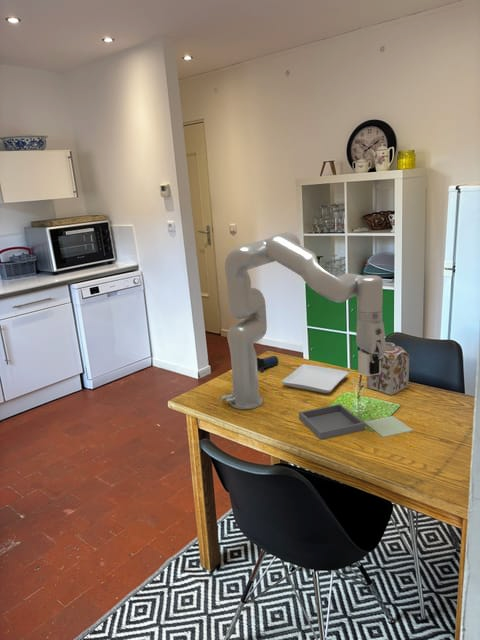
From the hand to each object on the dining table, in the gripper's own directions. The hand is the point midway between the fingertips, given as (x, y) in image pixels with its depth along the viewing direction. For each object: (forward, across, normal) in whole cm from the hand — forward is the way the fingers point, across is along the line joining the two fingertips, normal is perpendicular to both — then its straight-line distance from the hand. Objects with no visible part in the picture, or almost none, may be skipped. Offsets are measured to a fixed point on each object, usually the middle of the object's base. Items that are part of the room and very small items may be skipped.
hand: (369, 370), depth 156 cm
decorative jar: (+20, +25, -24) cm, 40 cm away
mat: (+20, -3, -5) cm, 21 cm away
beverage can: (+20, +66, +11) cm, 70 cm away
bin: (+20, +6, +11) cm, 23 cm away
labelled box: (+1, 0, 0) cm, 1 cm away
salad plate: (+20, +41, -1) cm, 46 cm away
